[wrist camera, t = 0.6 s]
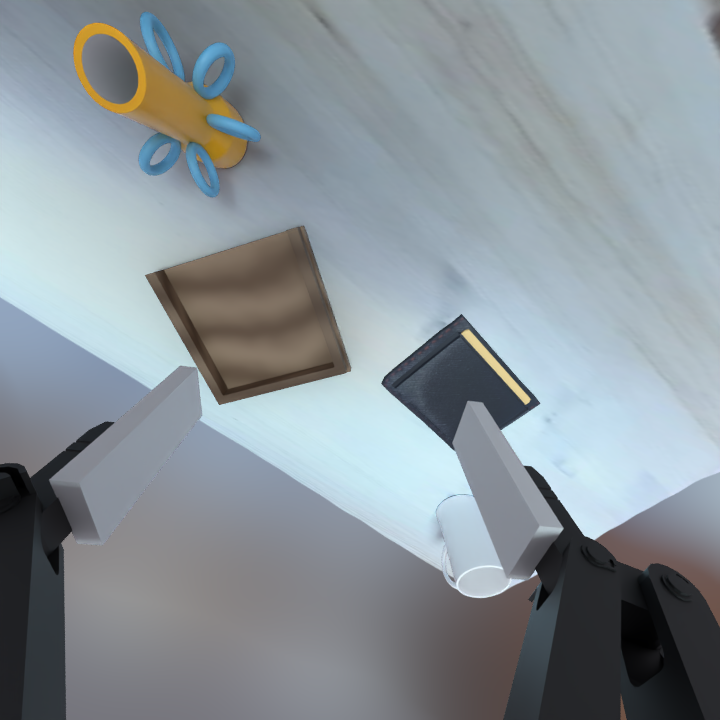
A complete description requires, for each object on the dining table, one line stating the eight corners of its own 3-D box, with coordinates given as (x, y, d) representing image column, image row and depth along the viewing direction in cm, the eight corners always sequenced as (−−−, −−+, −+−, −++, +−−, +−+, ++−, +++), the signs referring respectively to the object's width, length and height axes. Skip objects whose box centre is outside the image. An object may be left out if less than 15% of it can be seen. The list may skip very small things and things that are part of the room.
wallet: (378, 385, 42) (468, 313, 38) (377, 378, 44) (464, 309, 40) (460, 463, 48) (546, 409, 44) (457, 455, 50) (539, 402, 46)
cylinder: (211, 28, 28) (68, -155, 14) (296, 130, 31) (246, 60, 17) (142, 139, 31) (-25, 77, 18) (225, 219, 34) (137, 220, 21)
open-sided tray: (158, 271, 37) (142, 276, 34) (304, 225, 35) (299, 226, 32) (228, 398, 45) (219, 410, 42) (350, 367, 42) (350, 377, 40)
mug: (448, 541, 59) (469, 614, 48) (415, 524, 56) (428, 597, 46) (493, 506, 55) (526, 578, 44) (458, 487, 52) (484, 557, 42)
